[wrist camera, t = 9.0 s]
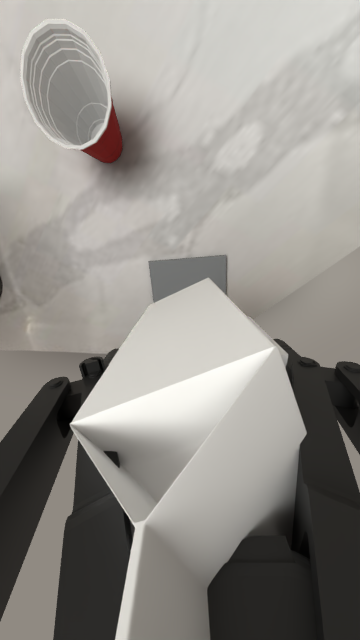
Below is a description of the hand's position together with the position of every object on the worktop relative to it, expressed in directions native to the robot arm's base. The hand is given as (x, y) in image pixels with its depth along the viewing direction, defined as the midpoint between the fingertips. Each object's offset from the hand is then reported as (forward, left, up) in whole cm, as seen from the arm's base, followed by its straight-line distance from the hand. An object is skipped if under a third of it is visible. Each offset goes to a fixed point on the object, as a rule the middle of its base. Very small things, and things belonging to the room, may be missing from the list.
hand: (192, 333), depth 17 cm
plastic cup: (-13, +26, -25) cm, 38 cm away
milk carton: (0, 0, -4) cm, 4 cm away
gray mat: (0, 0, -25) cm, 25 cm away
